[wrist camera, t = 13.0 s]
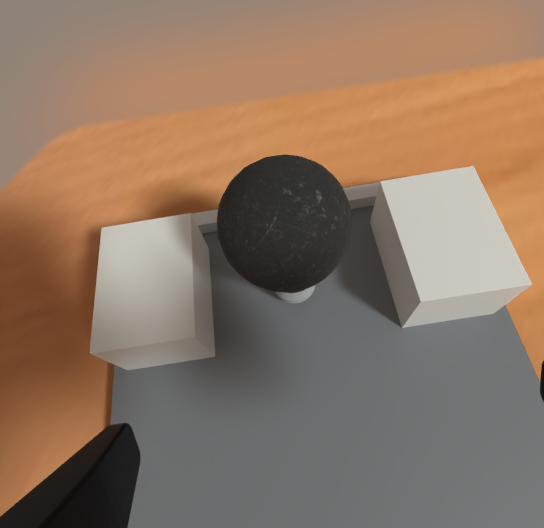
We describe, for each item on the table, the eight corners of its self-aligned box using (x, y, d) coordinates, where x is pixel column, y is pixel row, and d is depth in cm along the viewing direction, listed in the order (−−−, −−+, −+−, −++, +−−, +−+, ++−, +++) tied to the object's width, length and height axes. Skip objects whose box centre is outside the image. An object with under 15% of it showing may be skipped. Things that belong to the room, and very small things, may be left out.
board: (594, 542, 16) (705, 579, 12) (110, 609, 17) (35, 668, 12) (442, 187, 26) (470, 130, 21) (130, 239, 26) (91, 193, 22)
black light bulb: (346, 250, 23) (361, 122, 14) (340, 340, 20) (354, 257, 11) (256, 244, 24) (216, 121, 15) (241, 330, 21) (182, 245, 12)
